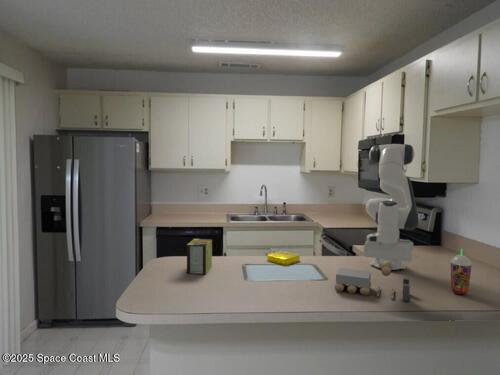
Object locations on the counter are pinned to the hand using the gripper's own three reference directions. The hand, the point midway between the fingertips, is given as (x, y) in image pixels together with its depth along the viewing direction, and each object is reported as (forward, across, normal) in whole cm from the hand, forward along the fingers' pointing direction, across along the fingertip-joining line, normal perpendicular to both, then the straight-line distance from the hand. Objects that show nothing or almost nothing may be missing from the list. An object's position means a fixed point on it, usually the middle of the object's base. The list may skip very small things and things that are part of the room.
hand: (386, 268), depth 157 cm
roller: (+2, 0, 0) cm, 2 cm away
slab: (+8, +14, 0) cm, 16 cm away
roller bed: (+12, +14, 0) cm, 18 cm away
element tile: (+12, +59, -33) cm, 69 cm away
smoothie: (+12, -31, -18) cm, 38 cm away
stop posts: (+12, -8, 0) cm, 14 cm away
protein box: (+12, +94, +4) cm, 95 cm away
